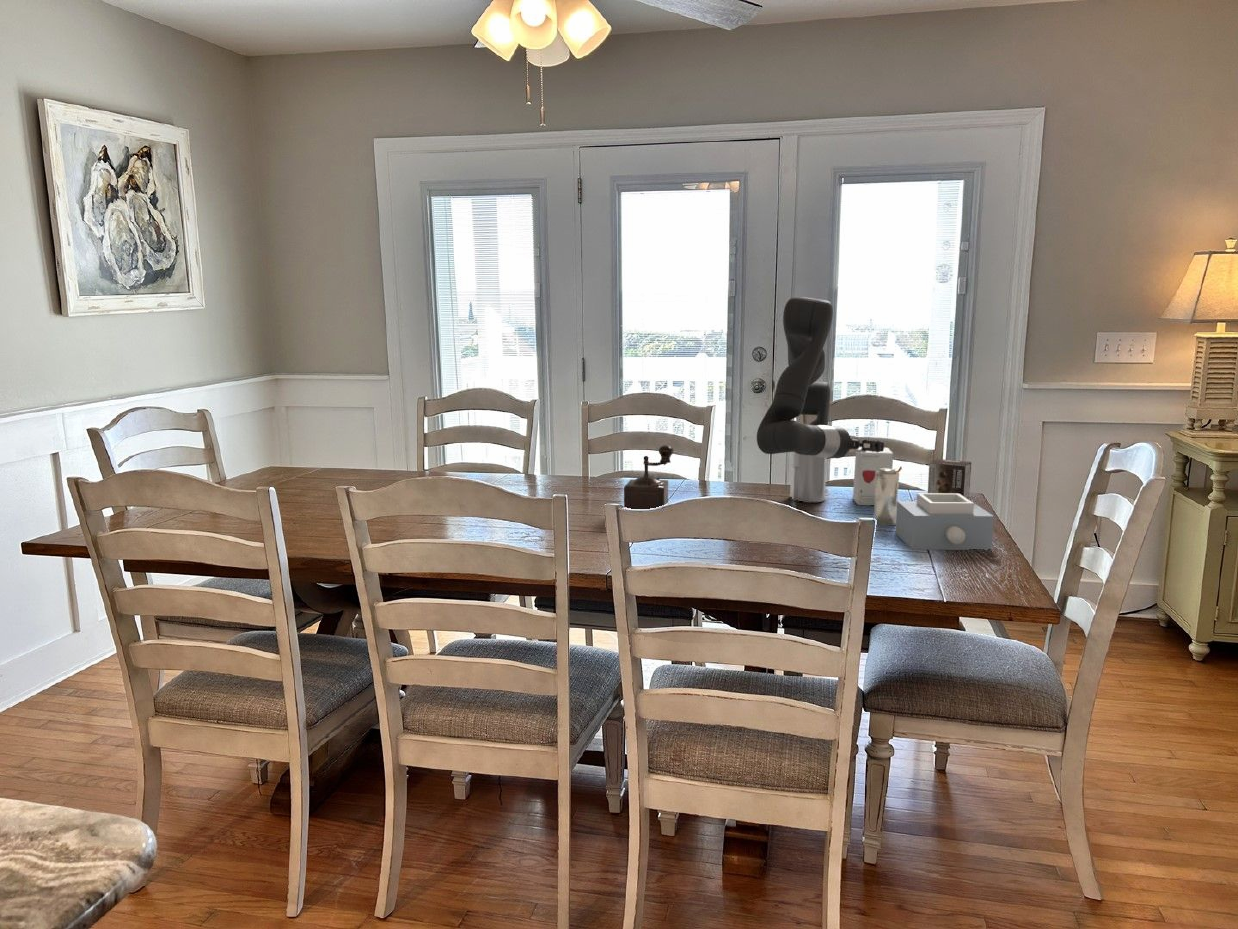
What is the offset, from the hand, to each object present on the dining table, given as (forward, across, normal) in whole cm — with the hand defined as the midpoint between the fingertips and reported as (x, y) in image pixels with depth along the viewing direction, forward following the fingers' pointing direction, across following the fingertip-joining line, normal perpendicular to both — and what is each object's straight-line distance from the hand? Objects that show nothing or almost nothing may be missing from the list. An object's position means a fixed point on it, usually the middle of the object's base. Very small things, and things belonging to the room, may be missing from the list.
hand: (867, 445), depth 225 cm
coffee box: (+22, -10, +18) cm, 30 cm away
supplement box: (+27, +16, +16) cm, 35 cm away
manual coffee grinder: (-31, +43, +24) cm, 58 cm away
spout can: (+11, 0, +19) cm, 22 cm away
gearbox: (+7, -19, +21) cm, 29 cm away
